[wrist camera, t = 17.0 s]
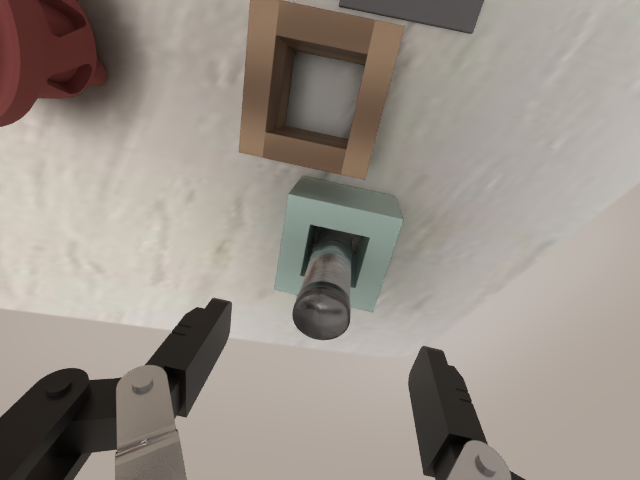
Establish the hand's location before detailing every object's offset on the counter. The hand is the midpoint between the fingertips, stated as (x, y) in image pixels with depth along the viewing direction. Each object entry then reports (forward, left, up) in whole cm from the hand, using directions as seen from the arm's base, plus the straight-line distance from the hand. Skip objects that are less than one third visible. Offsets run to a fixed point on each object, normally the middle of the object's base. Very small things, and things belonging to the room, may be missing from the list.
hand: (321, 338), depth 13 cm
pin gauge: (0, 0, -13) cm, 13 cm away
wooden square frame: (-9, -3, -13) cm, 16 cm away
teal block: (0, 0, -13) cm, 13 cm away
